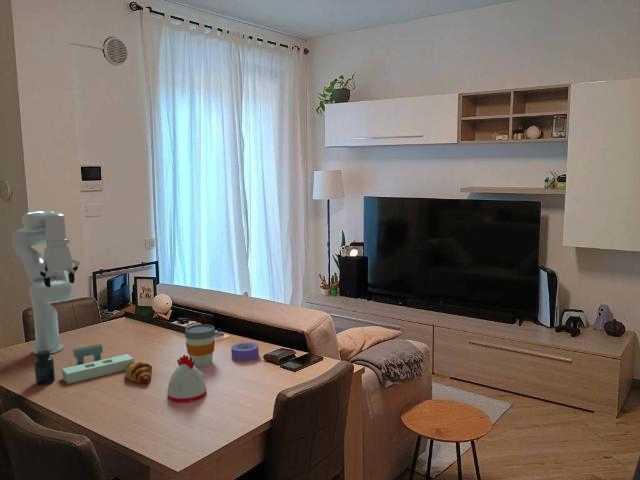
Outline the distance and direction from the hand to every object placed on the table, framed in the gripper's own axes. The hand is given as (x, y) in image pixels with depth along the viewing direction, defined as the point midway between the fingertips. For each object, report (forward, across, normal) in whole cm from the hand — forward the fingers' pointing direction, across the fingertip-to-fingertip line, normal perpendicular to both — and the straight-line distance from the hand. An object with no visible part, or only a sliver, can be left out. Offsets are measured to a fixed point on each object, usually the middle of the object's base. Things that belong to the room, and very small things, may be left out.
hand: (60, 284), depth 227 cm
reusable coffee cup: (+36, -38, +42) cm, 67 cm away
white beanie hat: (+36, -15, +64) cm, 75 cm away
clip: (+35, -7, +5) cm, 36 cm away
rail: (+35, -5, +19) cm, 40 cm away
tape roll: (+36, -55, +51) cm, 83 cm away
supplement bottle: (+35, +13, +11) cm, 39 cm away
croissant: (+36, -13, +35) cm, 52 cm away
